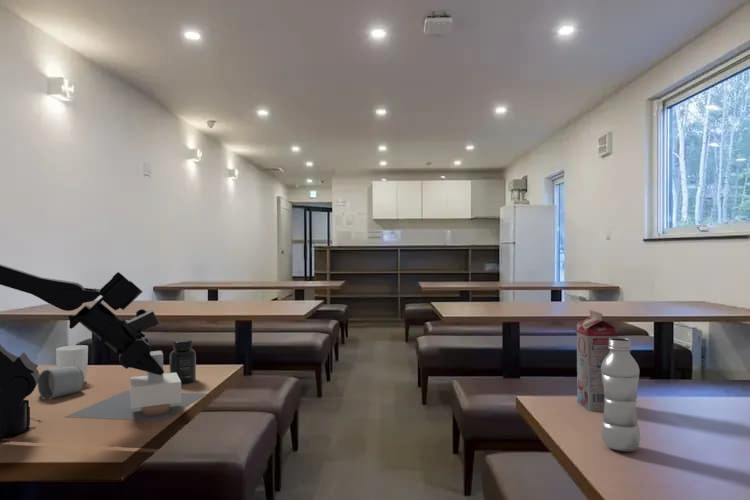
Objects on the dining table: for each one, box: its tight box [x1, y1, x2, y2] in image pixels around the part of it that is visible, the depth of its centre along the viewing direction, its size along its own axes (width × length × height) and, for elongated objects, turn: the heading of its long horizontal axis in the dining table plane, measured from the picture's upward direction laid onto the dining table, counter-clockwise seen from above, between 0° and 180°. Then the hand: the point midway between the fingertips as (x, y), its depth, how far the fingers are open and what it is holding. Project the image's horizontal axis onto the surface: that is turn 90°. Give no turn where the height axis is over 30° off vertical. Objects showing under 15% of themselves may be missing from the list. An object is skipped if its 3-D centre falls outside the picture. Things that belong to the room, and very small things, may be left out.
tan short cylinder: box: [141, 404, 170, 416], centre depth 115 cm, size 6×6×3 cm
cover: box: [129, 350, 182, 409], centre depth 115 cm, size 10×10×10 cm
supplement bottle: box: [169, 338, 197, 385], centre depth 142 cm, size 7×7×12 cm
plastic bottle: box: [600, 337, 641, 452], centre depth 92 cm, size 6×7×20 cm
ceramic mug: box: [37, 366, 85, 400], centre depth 131 cm, size 11×8×8 cm
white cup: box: [55, 344, 89, 383], centre depth 143 cm, size 8×8×10 cm
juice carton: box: [576, 309, 618, 412], centre depth 118 cm, size 7×7×22 cm
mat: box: [65, 390, 208, 422], centre depth 120 cm, size 21×23×1 cm
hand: (161, 370), depth 115 cm, fingers closed on cover, 5 cm apart
